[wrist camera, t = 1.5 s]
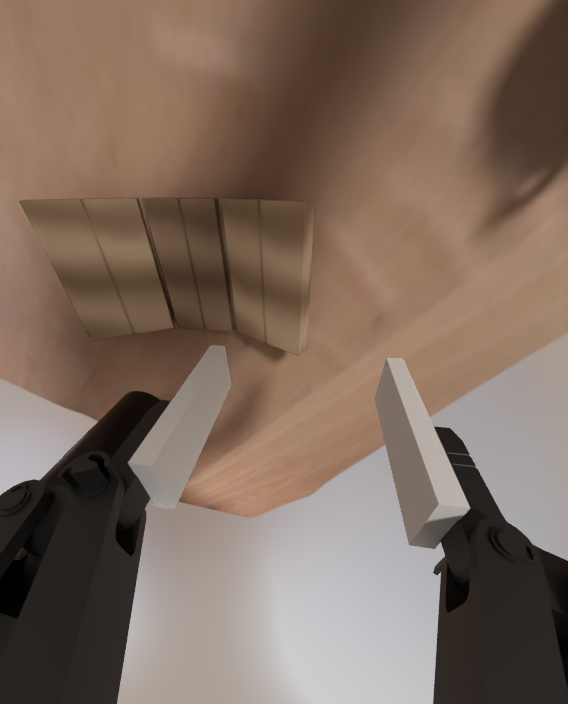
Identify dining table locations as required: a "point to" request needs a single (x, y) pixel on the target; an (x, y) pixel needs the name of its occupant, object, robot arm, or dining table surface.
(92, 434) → the water bottle
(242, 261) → the plank
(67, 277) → the plank
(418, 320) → the dining table surface
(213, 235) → the floor board
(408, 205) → the dining table surface
